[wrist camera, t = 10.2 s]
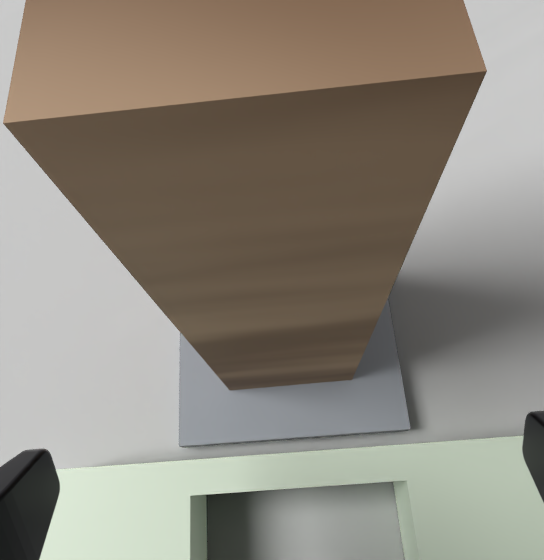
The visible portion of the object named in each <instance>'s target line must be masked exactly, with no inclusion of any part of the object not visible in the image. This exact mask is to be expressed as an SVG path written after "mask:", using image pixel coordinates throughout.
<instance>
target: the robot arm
mask: <svg viewBox="0 0 544 560" xmlns="http://www.w3.org/2000/svg"><path fill="white" fill-rule="evenodd" d="M522 452H523V457H524V460H525V463H526V465H527V467H528V469H529V472H530V474H531V476H532V478H533V481H534V483H535V485H536V487H537V489H538V492H539V494H540V496H541V498H542V500H543V503H544V411H535V412H530V413H528V414H527V416H526V420H525V428H524V436H523V445H522ZM59 493H60V482H59V478H58V475H57V472H56V469H55V466H54V463H53V460H52V457H51V454H50V452H49V451H48V450H46V449H33V450H25V451H23V452H21V453H20V454H18V455H17V456H16V457H14V458H13V459H11V460H10V461H8V462H7V463H5V464H4V465H3V466H1V467H0V560H39V559H40V556H41V553H42V550H43V546H44V543H45V540H46V536H47V533H48V530H49V527H50V523H51V520H52V517H53V513H54V510H55V507H56V504H57V500H58V497H59Z"/></svg>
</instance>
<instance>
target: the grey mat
mask: <svg viewBox="0 0 544 560" xmlns="http://www.w3.org/2000/svg"><path fill="white" fill-rule="evenodd" d="M410 429H411V428H410V422H409V416H408V410H407V405H406V399H405V393H404V387H403V381H402V375H401V370H400V364H399V358H398V352H397V346H396V340H395V334H394V329H393V323H392V317H391V311H390V305H389V299H388V298H387V301H386V303H385V305H384V308H383V310H382V312H381V315H380V317H379V319H378V321H377V324H376V326H375V328H374V331H373V333H372V335H371V337H370V340H369V342H368V344H367V347H366V349H365V351H364V353H363V356H362V358H361V360H360V363H359V365H358V367H357V369H356V372H355V374H354V376H353V379H352V380H345V381H333V382H322V383H310V384H299V385H288V386H276V387H265V388H253V389H242V390H229V389H228V388H227V387H226V386H225V384H224V383H223V382H222V381H221V380H220V378H219V377H218V376H217V375H216V374H215V373H214V371H213V370H212V369H211V368H210V367H209V365H208V364H207V363H206V362H205V361H204V360H203V358H202V357H201V356H200V355H199V354H198V352H197V351H196V350H195V349H194V348H193V347H192V345H191V344H190V343H189V342H188V341H187V340H186V338H185V337H184V336H183V335H182V334H181V332H180V383H179V446H180V447H194V446H208V445H221V444H235V443H248V442H262V441H276V440H289V439H303V438H316V437H330V436H343V435H357V434H370V433H384V432H397V431H408V430H410Z"/></svg>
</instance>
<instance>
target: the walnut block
mask: <svg viewBox="0 0 544 560" xmlns="http://www.w3.org/2000/svg"><path fill="white" fill-rule="evenodd" d="M486 72H487V70H486V67H485V64H484V61H483V58H482V55H481V52H480V49H479V46H478V43H477V40H476V37H475V34H474V31H473V28H472V25H471V22H470V19H469V16H468V13H467V10H466V7H465V4H464V1H463V0H26V3H25V8H24V13H23V19H22V24H21V30H20V35H19V40H18V46H17V51H16V57H15V62H14V68H13V73H12V78H11V84H10V89H9V95H8V100H7V105H6V111H5V116H4V122H3V124H4V125H5V126H6V127H7V128H8V129H9V131H10V132H11V133H12V134H13V135H14V137H15V138H16V139H17V140H18V141H19V142H20V144H21V145H22V146H23V147H24V148H25V149H26V151H27V152H28V153H29V154H30V155H31V157H32V158H33V159H34V160H35V161H36V162H37V164H38V165H39V166H40V167H41V168H42V170H43V171H44V172H45V173H46V174H47V175H48V177H49V178H50V179H51V180H52V181H53V183H54V184H55V185H56V186H57V187H58V188H59V190H60V191H61V192H62V193H63V194H64V196H65V197H66V198H67V199H68V200H69V201H70V203H71V204H72V205H73V206H74V207H75V209H76V210H77V211H78V212H79V213H80V214H81V216H82V217H83V218H84V219H85V220H86V221H87V223H88V224H89V225H90V226H91V227H92V229H93V230H94V231H95V232H96V233H97V234H98V236H99V237H100V238H101V239H102V240H103V242H104V243H105V244H106V245H107V246H108V247H109V249H110V250H111V251H112V252H113V253H114V255H115V256H116V257H117V258H118V259H119V260H120V262H121V263H122V264H123V265H124V266H125V268H126V269H127V270H128V271H129V272H130V273H131V275H132V276H133V277H134V278H135V279H136V280H137V282H138V283H139V284H140V285H141V286H142V288H143V289H144V290H145V291H146V292H147V293H148V295H149V296H150V297H151V298H152V299H153V301H154V302H155V303H156V304H157V305H158V306H159V308H160V309H161V310H162V311H163V312H164V314H165V315H166V316H167V317H168V318H169V319H170V321H171V322H172V323H173V324H174V325H175V327H176V328H177V329H178V330H179V331H180V332H181V334H182V335H183V336H184V337H185V338H186V340H187V341H188V342H189V343H190V344H191V345H192V347H193V348H194V349H195V350H196V351H197V352H198V354H199V355H200V356H201V357H202V358H203V360H204V361H205V362H206V363H207V364H208V365H209V367H210V368H211V369H212V370H213V371H214V373H215V374H216V375H217V376H218V377H219V378H220V380H221V381H222V382H223V383H224V384H225V386H226V387H227V388H228V389H229V390H242V389H253V388H265V387H276V386H288V385H299V384H310V383H322V382H333V381H345V380H352V379H353V376H354V374H355V372H356V369H357V367H358V365H359V363H360V360H361V358H362V356H363V353H364V351H365V349H366V347H367V344H368V342H369V340H370V337H371V335H372V333H373V331H374V328H375V326H376V324H377V321H378V319H379V317H380V315H381V312H382V310H383V308H384V305H385V303H386V301H387V298H388V296H389V294H390V292H391V289H392V287H393V285H394V282H395V280H396V278H397V276H398V273H399V271H400V269H401V266H402V264H403V262H404V260H405V257H406V255H407V253H408V250H409V248H410V246H411V244H412V241H413V239H414V237H415V234H416V232H417V230H418V228H419V225H420V223H421V221H422V218H423V216H424V214H425V212H426V209H427V207H428V205H429V202H430V200H431V198H432V195H433V193H434V191H435V189H436V186H437V184H438V182H439V179H440V177H441V175H442V173H443V170H444V168H445V166H446V163H447V161H448V159H449V157H450V154H451V152H452V150H453V147H454V145H455V143H456V141H457V138H458V136H459V134H460V131H461V129H462V127H463V125H464V122H465V120H466V118H467V115H468V113H469V111H470V108H471V106H472V104H473V102H474V99H475V97H476V95H477V92H478V90H479V88H480V86H481V83H482V81H483V79H484V76H485V74H486Z"/></svg>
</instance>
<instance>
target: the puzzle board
mask: <svg viewBox="0 0 544 560" xmlns="http://www.w3.org/2000/svg"><path fill="white" fill-rule="evenodd" d="M522 445H523V436H511V437H497V438H484V439H470V440H456V441H442V442H429V443H415V444H401V445H387V446H374V447H360V448H346V449H333V450H319V451H305V452H291V453H278V454H264V455H250V456H236V457H223V458H209V459H195V460H181V461H168V462H154V463H140V464H126V465H113V466H99V467H85V468H72V469H58V470H56V472H57V475H58V478H59V482H60V493H59V497H58V500H57V504H56V507H55V510H54V513H53V517H52V520H51V523H50V527H49V530H48V533H47V536H46V540H45V543H44V546H43V550H42V553H41V556H40V559H39V560H207V494H221V493H236V492H250V491H264V490H278V489H293V488H307V487H321V486H336V485H350V484H364V483H378V482H393V485H394V492H395V498H396V505H397V512H398V518H399V525H400V532H401V538H402V545H403V551H404V558H405V560H544V503H543V500H542V498H541V496H540V494H539V492H538V489H537V487H536V485H535V483H534V481H533V478H532V476H531V474H530V472H529V469H528V467H527V465H526V463H525V460H524V457H523V452H522Z"/></svg>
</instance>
